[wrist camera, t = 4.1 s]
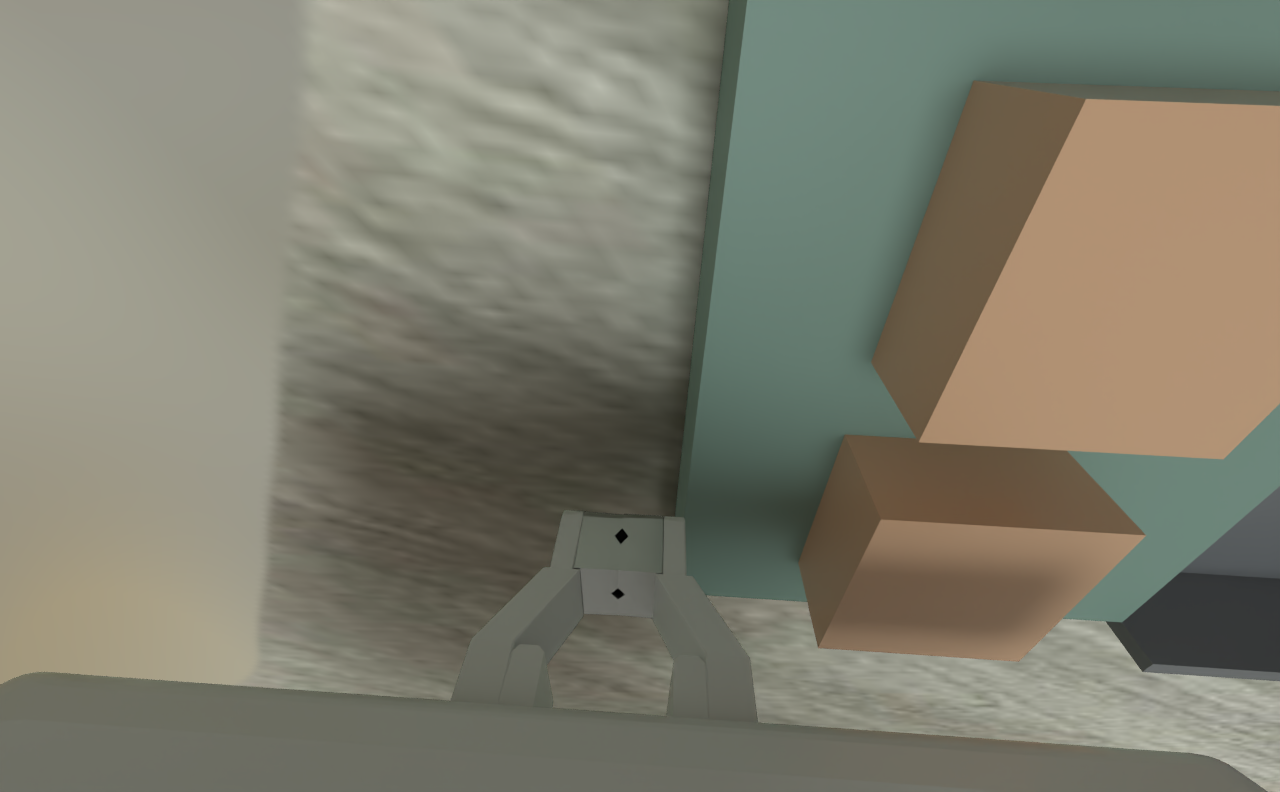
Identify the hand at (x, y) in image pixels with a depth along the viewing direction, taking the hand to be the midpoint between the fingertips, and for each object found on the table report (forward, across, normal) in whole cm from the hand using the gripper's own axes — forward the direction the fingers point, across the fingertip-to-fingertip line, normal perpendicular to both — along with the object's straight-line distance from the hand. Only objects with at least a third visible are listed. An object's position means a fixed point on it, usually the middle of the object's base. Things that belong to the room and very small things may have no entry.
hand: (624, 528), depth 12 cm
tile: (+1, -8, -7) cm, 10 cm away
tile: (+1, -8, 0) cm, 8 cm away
